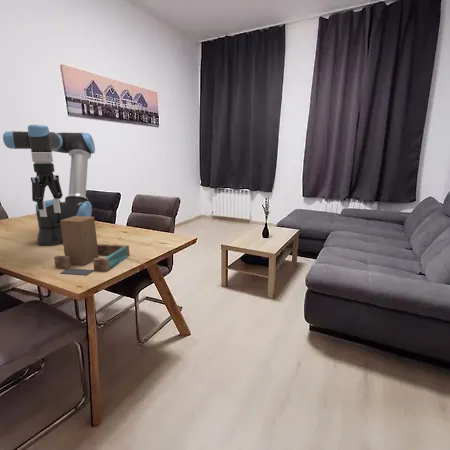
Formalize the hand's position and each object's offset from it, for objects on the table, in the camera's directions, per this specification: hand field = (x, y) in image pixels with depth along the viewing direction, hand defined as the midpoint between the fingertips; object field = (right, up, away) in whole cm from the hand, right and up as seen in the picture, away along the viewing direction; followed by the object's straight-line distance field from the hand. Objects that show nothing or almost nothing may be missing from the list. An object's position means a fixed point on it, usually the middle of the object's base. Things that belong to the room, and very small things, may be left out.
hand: (50, 214), depth 129 cm
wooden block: (+13, -21, +3) cm, 25 cm away
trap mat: (+17, -24, -10) cm, 31 cm away
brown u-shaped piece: (+18, -21, +3) cm, 28 cm away
